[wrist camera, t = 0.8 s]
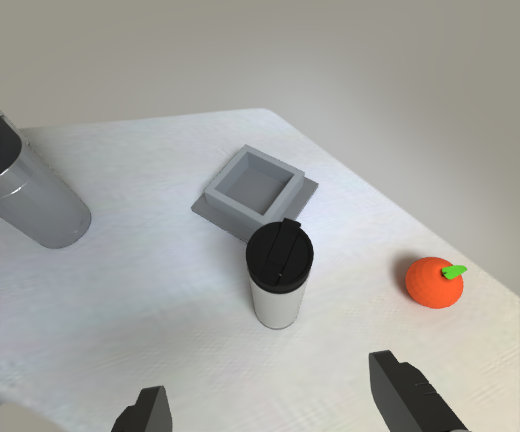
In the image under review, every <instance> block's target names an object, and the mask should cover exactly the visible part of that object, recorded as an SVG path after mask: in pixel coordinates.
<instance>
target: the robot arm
mask: <svg viewBox="0 0 520 432" xmlns="http://www.w3.org/2000/svg"><path fill="white" fill-rule="evenodd" d="M0 217H1V218H2V219H4V220H5V221H7V222H8V223H10V224H11V225H13V226H14V227H16V228H17V229H19V230H20V231H22V232H23V233H24V234H26V235H27V236H29V237H30V238H32V239H33V240H35V241H36V242H38V243H39V244H41V245H42V246H44V247H47V248H61V247H65V246H68V245H70V244H72V243H74V242H75V241H77V240H78V239H79V238H80V237H81V236H82V235H83V234H84V233H85V232H86V230H87V229H88V227H89V224H90V221H91V213H90V211H89V209H88V208H87V207H86V205H85V204H84V203H83V202H82V201H81V200H80V199H79V198H78V197H77V196H76V195H75V194H74V193H73V192H72V191H71V190H70V189H69V188H68V186H67V185H66V184H65V183H64V182H63V181H62V180H61V179H60V178H59V177H58V176H57V175H56V174H55V173H54V172H53V171H52V170H51V169H50V168H49V167H48V166H47V165H46V163H45V162H44V161H43V160H42V159H41V158H40V157H39V156H38V155H37V154H36V153H35V152H34V151H33V150H32V149H31V148H30V147H29V146H28V145H27V144H26V143H25V142H24V141H23V140H22V139H21V138H20V137H19V136H18V134H17V133H16V132H15V131H14V130H13V129H12V128H11V127H10V126H9V125H8V124H7V123H6V122H5V121H4V120H3V118H2V117H1V116H0ZM369 370H370V385H371V391H372V395H373V398H374V401H375V404H376V406H377V408H378V409H379V411H380V413H381V415H382V417H383V419H384V421H385V423H386V425H387V426H388V428H389V430H390V432H471V431H469V430H468V429H467V428H466V427H465V426H464V424H463V423H462V422H461V421H460V419H459V418H458V417H457V416H456V414H455V413H454V412H453V411H452V410H451V408H450V407H449V406H448V405H447V403H446V402H445V401H444V400H443V399H442V397H441V396H440V395H439V394H437V392H436V390H435V389H434V387H433V386H432V385H431V384H429V381H428V380H427V379H426V378H425V376H424V375H423V374H422V373H421V371H420V370H418V369H417V368H415V367H414V366H412V365H411V364H409V363H408V362H403V363H399V362H398V361H397V359H396V358H395V357H394V355H393V354H392V353H391V351H389V350H385V351H379V352H373V353H369ZM111 432H172V417H171V413H170V408H169V404H168V400H167V396H166V391H165V388H164V386H156V387H150V388H144V389H142V390H141V392H140V394H139V397H138V399H137V401H136V404H135V405H133V406H128V407H127V408H126V409H125V410H124V411H123V412H122V414H121V415H120V416H119V417H118V418H117V419H116V422H115V424H114V426H113V428H112V430H111Z"/></svg>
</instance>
